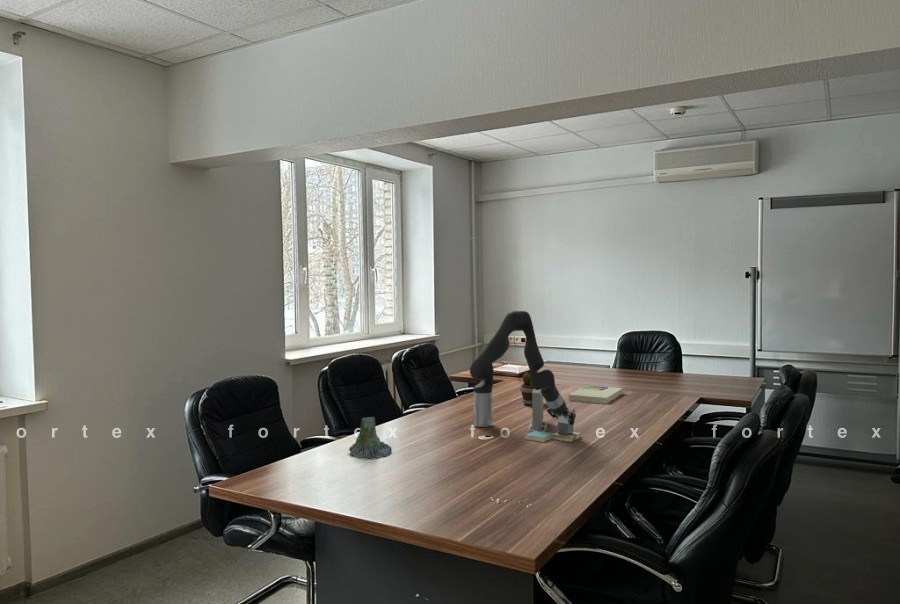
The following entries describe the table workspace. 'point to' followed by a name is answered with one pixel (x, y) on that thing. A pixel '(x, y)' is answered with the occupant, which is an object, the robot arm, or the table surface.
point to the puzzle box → (595, 394)
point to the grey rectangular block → (564, 426)
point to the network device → (537, 411)
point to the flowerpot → (526, 389)
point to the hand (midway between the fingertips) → (567, 422)
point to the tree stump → (369, 442)
